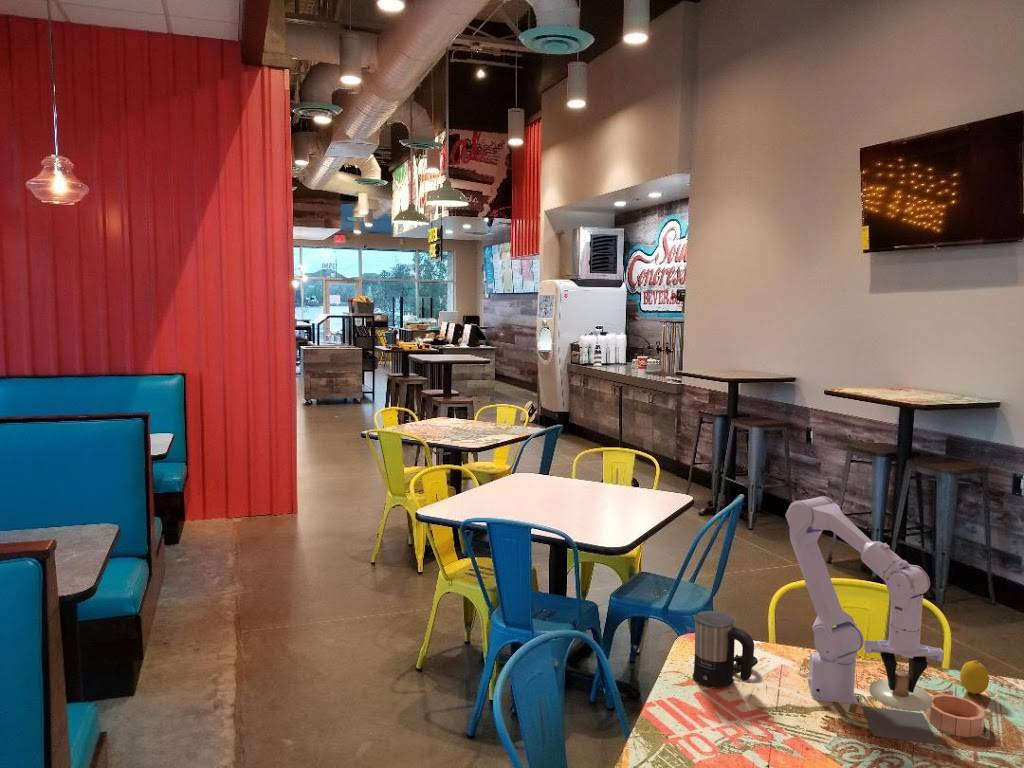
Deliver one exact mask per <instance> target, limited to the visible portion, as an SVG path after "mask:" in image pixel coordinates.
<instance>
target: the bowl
mask: <svg viewBox="0 0 1024 768" xmlns="http://www.w3.org/2000/svg"><path fill="white" fill-rule="evenodd" d="M930 696H931V697H932V706H931V707H930V708H928V709H926V720H928V722H929V725H932V726H933V727H934V728H937V729H938V730H939V731H942V732H945V733H947V734H949V735H950V734H951V735H953V736H957V737H966V738H972V737H979V736H981V735H982V733H983V731H984V729H985V719H986V718H985V717H986V716H985V715H986V712H985V711H984V709H983V708H982V706H981V705H978V703H976V702H974V701H972V700H971V699H967V698H965V697H961V696H958V695H952V694H944V693H939V694H934V695H930Z"/></svg>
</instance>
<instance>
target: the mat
mask: <svg viewBox="0 0 1024 768" xmlns="http://www.w3.org/2000/svg"><path fill="white" fill-rule="evenodd" d="M861 708H862V711H863V713H864V715H865V718H866V721H867V723H868V726H869V728H870V732H871V734H872V735H873V737H878V738H886V739H893V740H901V741H910V742H916V743H923V744H931V745H940V743H939V742H938V740H937V738H936V736H935V733H934V732H933V731H932V729H931V727H930V724H929V723H928V721H927V718H926V717H925V716H924V714H923V712H917V711H908V710H900V709H898V710H897V709H890V708H883V707H874V706H864V705H861Z"/></svg>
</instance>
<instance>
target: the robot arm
mask: <svg viewBox="0 0 1024 768" xmlns="http://www.w3.org/2000/svg"><path fill="white" fill-rule="evenodd" d="M785 518H786V521H787V524H788V526H789V540H790V543H791V546H792V548H793V549H792V550H793V551H794V554H795V558H796V561H797V564H798V565H799V569H800V572H801V574H802V577H803V580H804V583H805V586H806V589H807V591H808V594H809V596H810V599H811V600H810V601H811V603H812V606H813V608H814V610H815V611H814V612H815V614H816V618H815V620H814V623H813V624H812V627H811V630H812V633H813V636H814V638H813V639H814V642H813V644H814V647H815V650H816V651H817V652H812V653H810V655H809V661H808V662H809V663H808V677H807V678H808V679H807V684H808V688H809V693H810V696H811V699H812V700H817V701H823V702H824V701H826V702H832V703H840V704H841V703H842V704H850V705H856V706H857V705H859V701H858V698H857V695H856V693H855V680H856V679H855V677H856V665H857V664H856V661H857V657H858V652H859V651H861V650H862V648H863V649H864V653H865V654H872V653H874V654H879V655H880V657H881V659H882V662H883V665H884V669H885V671H886V677H887V680H888V686H889V688H890V690H894V688H895V672H897V671H896V670H897V666H898V663H897V660H896V656H901V657H902V658H905V659H908V673H907V674H908V675H909V676H910V683H909V692H912V693H913V692H914V688H915V686H917V682H918V681H919V679H920V678H921V676H922V674H923V673H924V672H925V671H926V670H927V669H928V661H927V659H930V660H936V661H938V662H944V658H945V657H944V655H945V652H944V651H943V649H942V648H940V647H933V646H930V645H924V644H921V631H922V615H923V603H924V595H923V594H926V592H928V591H929V589H930V587H931V581H930V577H929V575H928V573H927V572H926V571H925V570H924V569H923V567H921V566H919V565H915V564H910V563H909V562H908V561H907V560H906V559H902V558H901V557H900V555H898V554H897V553H895V552H894V551H892V550H891V548H890V547H891V546H890V545H888V543H887V542H884V543H883V542H882V541H879V540H878V541H877V540H876V541H872V540H871V538H869V537H868V536H867V535H866V534H865V533H864V532H862V530H861V529H859V528H858V526H856V525H855V524H854V523H853V521H851V520H850V519H849V518H848V516H846V515H845V514H844V513H843V512H842V510H841V506H840V505H838V504H837V503H835V502H834V501H833V500H832V499H831V498H830V497H828V496H824V495H820V496H817V497H813V498H807V499H803V500H794V501H793V502H791V503H790V505H788V509H787V510H786V513H785ZM823 531H831V532H832V533H834V534H835V535H836V536H838V537H839V538H840V539H842V540H843V541H844V542H846V543H847V544H848V545H850V547H853V548H854V550H856V551H857V552H859V554H860V559H861V561H862V563H863V564H865V565H866V566H867V567H868V568H869V569H870V570H871V571H873V572H874V574H876V575H877V576H879V578H880V579H882V580H883V581H884V582H885V586H886V589H887V591H888V593H889V596H890V598H889V599H890V613H889V625H888V626H889V628H888V639H887V640H882V639H881V640H867V639H866V640H865V639H864V638H865V637H864V634H863V632H862V630H861V629H860V628H859V626H857V625H856V623H855V620H854V618H853V616H852V615H850V614H849V613H847V612H846V611H845V610H843V609H842V606H841V603H840V601H839V600H840V599H839V597H838V595H837V593H836V590H835V589H836V588H835V586H834V584H833V581H832V578H831V576H830V573H829V570H828V567H827V564H826V562H825V559H824V556H823V554H822V550H821V549H820V546H819V544H818V540H819V538H820V537H821V535H822V532H823Z"/></svg>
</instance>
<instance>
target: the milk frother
mask: <svg viewBox="0 0 1024 768" xmlns="http://www.w3.org/2000/svg"><path fill="white" fill-rule="evenodd" d="M693 619H694V623H695V624H694V629H695V630H694V663H693V674H692V679H693V681H694V682H696V683H697V684H698V685H700V686H703V687H707V688H710V689H711V688H712V689H725V688H728V687H730V686H731V685H733V683H734V676H735V675H736V674H739V673H740V676H739V678H740V679H741V680H742V681H744V682H745V681H749V679H750V678H752V674H753V673H752V672H753V668H754V667H755V666H756V665H758V663H759V661H758V658H757V657H756V656H755V655H754V654H755V643H754V640H753V637H752V635H750V634H749V632H747V631H745V630H744V629H741V628H738V627H736V626H734V625H735V623H736V619H735V618H734V617H733V616H732V615H730V614H728V613H726V612H721V611H715V610H704V611H700V612H697V613H695V614H694V615H693ZM735 641H738V642H739V643H740V644H741V648H742V649H741V650H742V651H741V655H739V654H736V655H735V647H736V645H735ZM735 664H736V665H735Z"/></svg>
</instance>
